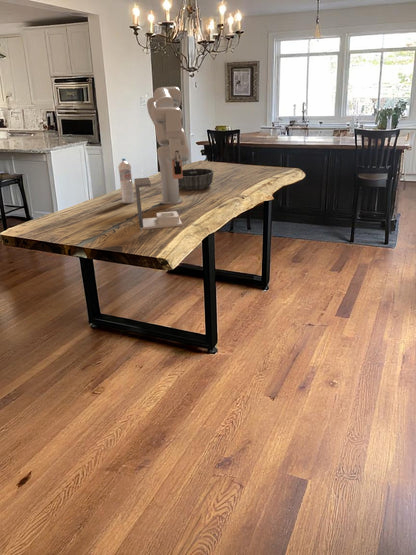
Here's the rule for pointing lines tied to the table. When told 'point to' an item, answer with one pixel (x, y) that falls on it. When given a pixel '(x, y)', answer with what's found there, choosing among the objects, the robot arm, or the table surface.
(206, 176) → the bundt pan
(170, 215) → the socket stand
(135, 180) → the grey l-shaped bracket
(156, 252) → the table surface
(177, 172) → the robot arm
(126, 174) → the water bottle
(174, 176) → the peg
